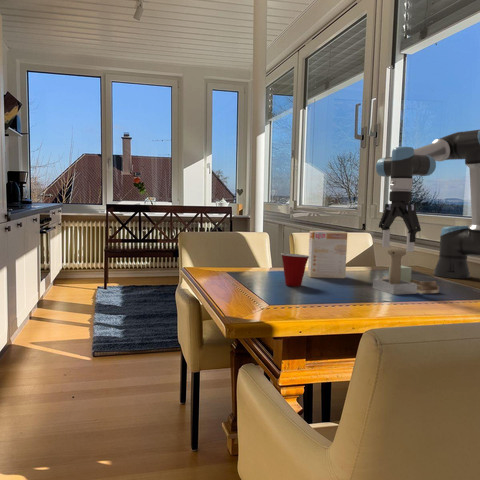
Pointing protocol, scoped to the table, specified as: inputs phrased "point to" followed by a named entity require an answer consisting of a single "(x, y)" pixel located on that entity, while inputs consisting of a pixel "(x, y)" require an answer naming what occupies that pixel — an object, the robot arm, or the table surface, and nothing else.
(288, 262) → the plastic cup
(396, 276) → the handle
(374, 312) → the table surface
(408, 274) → the pale green cube
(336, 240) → the coffeecake box
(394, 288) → the winch housing
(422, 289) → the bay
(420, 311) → the table surface
